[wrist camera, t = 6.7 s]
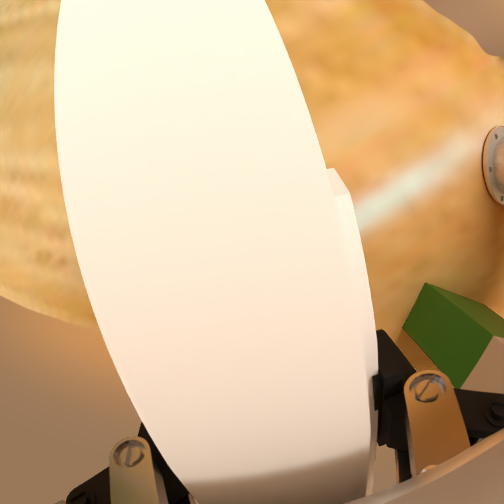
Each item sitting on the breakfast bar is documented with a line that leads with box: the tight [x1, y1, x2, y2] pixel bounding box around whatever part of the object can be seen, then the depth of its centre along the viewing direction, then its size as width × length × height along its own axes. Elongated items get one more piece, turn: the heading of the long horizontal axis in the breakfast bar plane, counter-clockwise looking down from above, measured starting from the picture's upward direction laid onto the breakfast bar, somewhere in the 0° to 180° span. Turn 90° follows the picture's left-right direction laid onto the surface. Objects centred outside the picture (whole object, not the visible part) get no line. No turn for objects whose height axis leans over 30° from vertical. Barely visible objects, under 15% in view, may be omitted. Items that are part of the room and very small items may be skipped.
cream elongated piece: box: [54, 0, 378, 504], centre depth 10 cm, size 6×25×13 cm, turn 14°
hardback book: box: [402, 283, 504, 394], centre depth 27 cm, size 18×7×24 cm, turn 71°
